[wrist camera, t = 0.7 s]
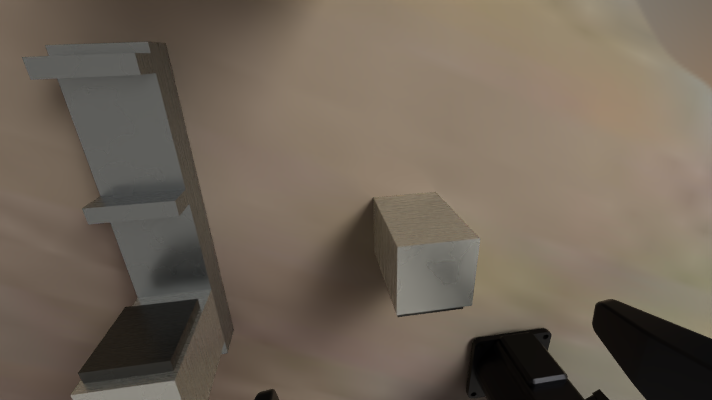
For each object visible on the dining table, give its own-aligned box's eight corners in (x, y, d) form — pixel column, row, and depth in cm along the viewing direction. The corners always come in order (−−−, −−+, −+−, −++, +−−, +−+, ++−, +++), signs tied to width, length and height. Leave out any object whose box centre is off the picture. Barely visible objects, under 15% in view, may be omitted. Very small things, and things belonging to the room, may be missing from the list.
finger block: (431, 253, 23) (470, 314, 18) (374, 259, 23) (396, 324, 17) (435, 191, 21) (480, 238, 16) (373, 197, 21) (397, 247, 15)
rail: (233, 329, 23) (201, 454, 16) (172, 337, 23) (110, 469, 16) (165, 43, 16) (50, 32, 9) (75, 46, 16) (-125, 38, 8)
